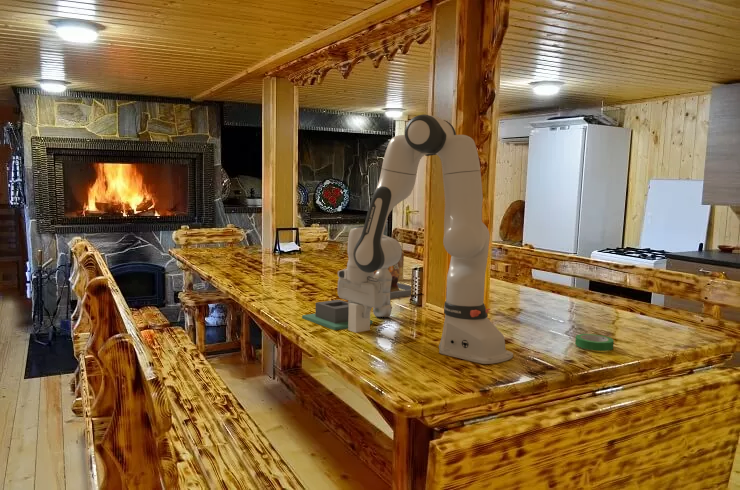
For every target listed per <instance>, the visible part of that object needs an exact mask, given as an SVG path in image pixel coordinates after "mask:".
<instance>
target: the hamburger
mask: <svg viewBox="0 0 740 490" xmlns="http://www.w3.org/2000/svg"><path fill="white" fill-rule="evenodd" d="M376 272H377V271H374V275H375V273H376ZM391 276H392V280H391V287H390V292H395V291H400V289H399V288H398V285H397V283H399V280H398V277H395V276H394V275H391Z"/></svg>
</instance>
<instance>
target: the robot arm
mask: <svg viewBox="0 0 740 490" xmlns="http://www.w3.org/2000/svg"><path fill="white" fill-rule="evenodd" d="M436 155H437V157H439V159H440V162H441V169H442V180H443V181H442V182H443V183H442V184H443V191H444V217H443V219H444V220H443V239H442V240H443V241H442V242H443V243H442V245H443V247H444V250H445V251H446V252H447V254H449V255H450V256H451V257H450V262H449V266H448V267H449V268H448V272H447V275H446V292H445V293H446V294H445V295H446V296H445V298H446V299H445V301H444V305H443V313H444V315H445V316H444V322H443V328H442V334H441V339H440V342H439V345H438V348H439V350H438V351H439V352H438V353H439V354H441V355H445V356H449V357H454V358H458V359H462V360H465V361H469V362H472V363H473V362H474V363H477V364H482V365H488V364H489V365H490V364H498V363H502V362H506V361H509V360H512V359H513V358H514V352H512V351H510V350H508V349H506V341H505V336H504V334H503V333H502V332H501V331H500V330H499V329H498V328H497V327H496V326H495V325H494V323H493V322H492V321H491V320H490V319H489V318H488V314H489V313H491V311H490V310H491V308H486V305H485V303H484V296H485V295H484V294H485V277H486V271H487V265H488V264H487V263H488V256H489V248H490V247H489V246H490V238H491V237H490V231H489V228H488V227H487V226H486V224H485V223H484V222H483V221H482V220H483V199H484V198H483V197H484V196H483V184H482V173H481V163H480V158H479V154H478V149H477V145H476V143H475V140H474V139H473V138H472V137H470V136H468V135H466V134H457V132H456V130H455V128H454V126H453V125H452V124H451V123H450V122H449V121H448V120H445V119H443V118H441V117H438V116H435V115H430V114H419V115H415V116H413V117H412V118H411V119H410V120H409V121H408V122H407V124H406V126H405V128H404V134H399V135H395V136H393V137H391V139H390V140H389V143H388V144H387V148H386V149H385V153H384V156H383V161H382V164H381V165H382V166H381V169H380V170H381V171H380V176H379V179H378V183H377V186H376V188H375V190H374V192H373V194H372V197H371V200H370V203H369V207H368V210H367V213H366V217H365V221H364V224H363V225H359V226H354V227H351V228H350V231H349V233H348V237H347V238H348V239H347V250H346V251H347V256H348V260H347V263H346V268H343V269H341V270H338V271H337V277H338V280H337V295H338V297H339V298H340V299H342V300H345V301H347V302H348V305H349V303H354V302H356V303H359V304H363V305H364V308H365V310H364V312H363V313H362V318H365V319H366V318H369V312H370V313H371V311H372V310H373V308H377V307H381V306H382V305H383V291H382V286H381V283H380V281H379V280H378V279H377V278H374V272H376V271H377V270H379V269H383V268H386V267H390V266H393V265H395V264H397V263H398V262H399V261H400V259H401V256H402V251H403V249H402V246H401V244H400V242H399V241H398V240H397V239H396V238H393V237H391V236H388V235H385V234H384V232H385V229H386V225H387V221H388V217H389V215H390V213H391V211H393V209H394V208H395V207H396V206H397V205H399V204H400V203H401V202H403V201H405V200H406V199H408V198H409V196H410V195H411V194H412V193H413V190H414V188H415V185H416V180H417V179H416V178H417V176H418V175H417V174H418V169H419V164H420V162H421V160H422V158H423V157H424V156H426V157H431V156H436Z"/></svg>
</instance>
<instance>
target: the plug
mask: <svg viewBox="0 0 740 490" xmlns="http://www.w3.org/2000/svg"><path fill="white" fill-rule="evenodd" d="M364 310H365V308H364V305H363V304H359V303H356V302H354V303H349V314H348V328H347V330H348V331H350V332H353V333H360V332H366V331H367V332H368V331H370V329H371V324H370V320H371V311H370V312H369V318H366V319H365V318H362V313H363V312H364Z"/></svg>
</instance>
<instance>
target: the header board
mask: <svg viewBox="0 0 740 490" xmlns="http://www.w3.org/2000/svg"><path fill="white" fill-rule="evenodd" d="M348 314H349V305H348V301H346V300H345V301H344V300H343V299H342V300H341V299H333V300H326V301H325V300H324V301H317V302H315V311H314V313H310V314H301V315H302V316H301V319H304V320H306V321H308V322H311V323H315V324H317V325H319V326H322V327H325V328H326V329H327V328H328V329H331V330H332V331H338V330H344V329H348ZM373 323H374V322H373V320H371V319H370V325H373Z"/></svg>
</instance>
